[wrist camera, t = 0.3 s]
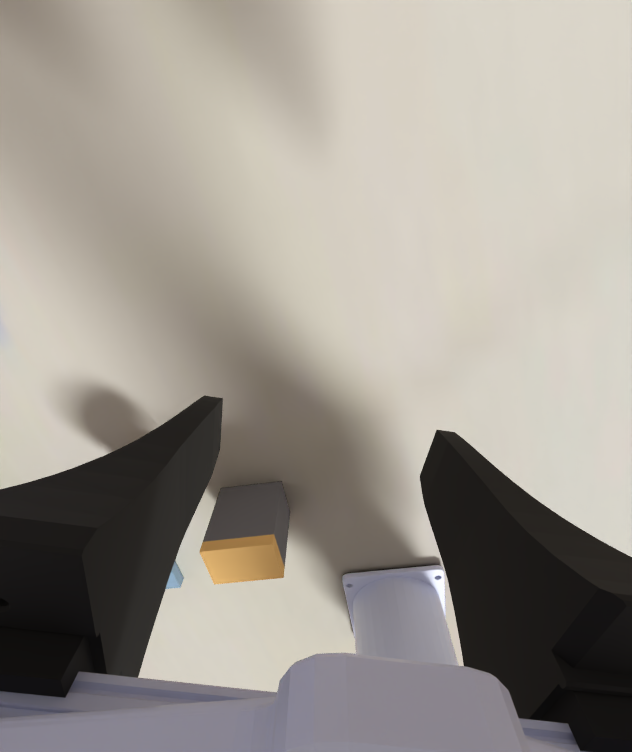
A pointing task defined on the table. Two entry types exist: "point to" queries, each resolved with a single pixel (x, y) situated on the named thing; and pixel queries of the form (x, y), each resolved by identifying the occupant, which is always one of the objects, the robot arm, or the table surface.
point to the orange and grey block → (247, 534)
